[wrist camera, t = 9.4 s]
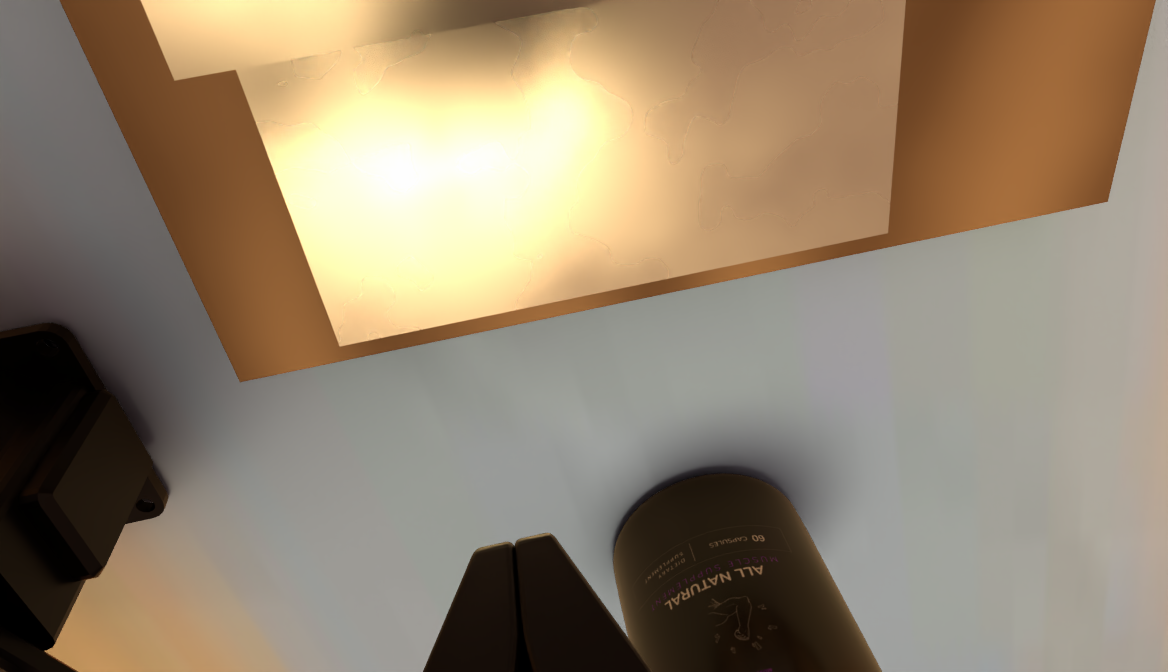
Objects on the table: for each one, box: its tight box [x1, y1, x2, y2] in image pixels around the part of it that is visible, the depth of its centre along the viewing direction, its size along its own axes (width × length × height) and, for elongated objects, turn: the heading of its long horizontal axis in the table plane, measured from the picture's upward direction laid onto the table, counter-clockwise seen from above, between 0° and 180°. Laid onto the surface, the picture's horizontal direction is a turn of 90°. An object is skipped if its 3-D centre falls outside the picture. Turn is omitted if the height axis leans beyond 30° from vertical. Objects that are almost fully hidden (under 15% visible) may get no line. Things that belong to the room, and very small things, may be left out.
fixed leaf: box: [141, 0, 906, 346], centre depth 15 cm, size 14×11×4 cm
